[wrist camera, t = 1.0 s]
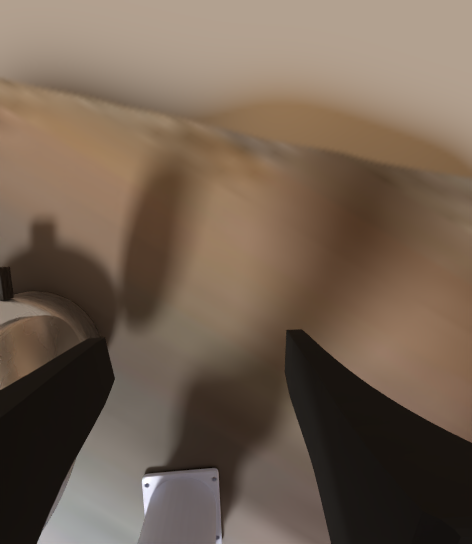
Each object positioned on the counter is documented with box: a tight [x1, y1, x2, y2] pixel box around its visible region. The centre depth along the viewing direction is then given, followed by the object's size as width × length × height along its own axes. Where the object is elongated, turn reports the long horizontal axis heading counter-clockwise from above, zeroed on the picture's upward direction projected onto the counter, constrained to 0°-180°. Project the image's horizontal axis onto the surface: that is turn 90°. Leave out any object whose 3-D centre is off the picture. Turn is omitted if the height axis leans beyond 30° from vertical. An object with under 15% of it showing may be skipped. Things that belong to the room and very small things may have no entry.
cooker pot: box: [0, 267, 100, 343], centre depth 23 cm, size 17×12×5 cm
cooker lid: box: [0, 315, 80, 529], centre depth 14 cm, size 12×14×1 cm
